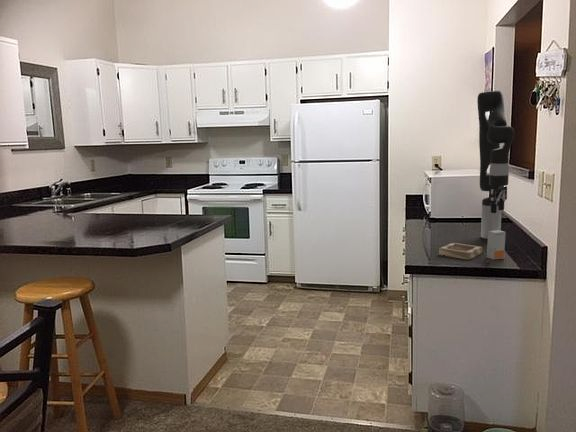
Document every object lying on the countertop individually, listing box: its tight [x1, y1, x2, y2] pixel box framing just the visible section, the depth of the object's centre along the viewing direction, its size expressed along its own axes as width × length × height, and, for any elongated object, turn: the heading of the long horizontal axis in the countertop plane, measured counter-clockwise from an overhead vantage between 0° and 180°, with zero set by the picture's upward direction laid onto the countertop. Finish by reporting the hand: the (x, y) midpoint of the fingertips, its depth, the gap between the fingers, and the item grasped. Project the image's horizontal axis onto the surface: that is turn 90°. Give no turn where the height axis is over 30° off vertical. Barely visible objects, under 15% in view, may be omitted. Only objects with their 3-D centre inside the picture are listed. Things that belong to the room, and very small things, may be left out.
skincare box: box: [486, 230, 507, 260], centre depth 213 cm, size 6×4×12 cm
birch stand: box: [438, 242, 483, 260], centre depth 222 cm, size 14×14×3 cm
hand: (497, 211), depth 210 cm, fingers open, 8 cm apart
